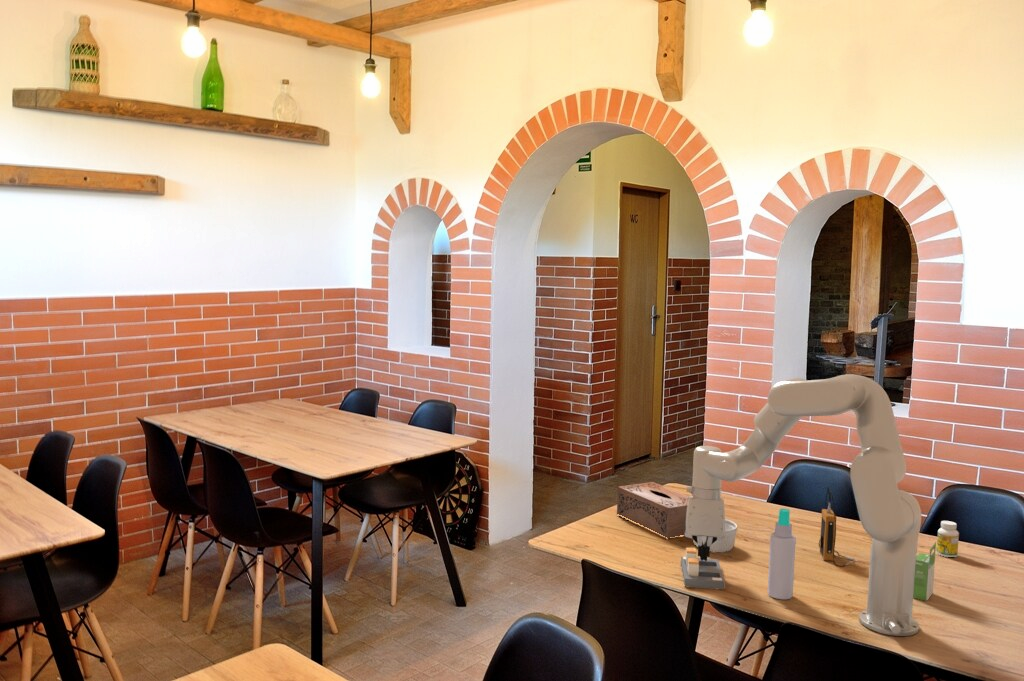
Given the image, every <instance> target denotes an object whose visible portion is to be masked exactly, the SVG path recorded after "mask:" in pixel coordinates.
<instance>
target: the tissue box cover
mask: <svg viewBox="0 0 1024 681" xmlns="http://www.w3.org/2000/svg"><path fill="white" fill-rule="evenodd" d="M689 496H690V495H687V494H685V493H682V492H681V491H677V490H675V489H672V488H669V487H667V486H664V485H662V484H659V483H656V482H655V481H649V482H642V483H636V484H629V485H621V486H620V485H619V486H617V500H616V503H617V504H616V515H617V514H619V515H622V516H624V517H626V518H628V519H630V520H632V521H634V522H636V523H639V524H640V525H643V526H644V527H647V528H649V529H651V530H653V531H655V532H657V533H659V534H661V535H663V536H665V537H667V538H670V537H675V536H680V535H684V532H685V529H686V512H687V505H688V500H689Z"/></svg>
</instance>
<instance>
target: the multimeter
mask: <svg viewBox="0 0 1024 681" xmlns="http://www.w3.org/2000/svg"><path fill="white" fill-rule="evenodd" d="M829 489H830V487H829V486H827V487H826V490H827V491H826V496H825V501H824V502H825V504H824V505H825V508H821V517H820V518H821V519H820V522H821V523H820V535H819V536H820V537H819V541H818V547H819V554H820V556H821V558H822V560H823V561H830V562H833V564H834V565H835V566H836V567H841V568H842V567H846V566H849V565H850V564H851V563H853V562H854V561H856V562H861V561H860V560H856V559H855V558H852V557H849V556H845V555H841V554H839V552H838V551H837V550H835V547H836V546H835V545H836V539H837V538H836V537H837V536H836V535H837V516H836V511H835V510H836V509H835V503H834V497H833V493H832V491H830V490H829ZM828 496H829V497H828ZM827 498H828V505H827ZM831 501H832V503H831ZM831 504H832V506H833V509H832V508H831V507H832V506H831ZM835 553H837V555H838V556H839V557H842V558H845V559H846V560H847V559H848V560H850V561H848V562H847V563H845V564H844V565H839V564H836V563H835Z"/></svg>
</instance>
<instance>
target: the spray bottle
mask: <svg viewBox="0 0 1024 681" xmlns="http://www.w3.org/2000/svg"><path fill="white" fill-rule="evenodd" d="M790 513H791V512H790V509H787V508H779V510H778V521H776V522H775V527H774V532H772V533H770V537H769V554H768V555H769V557H768V572H767V573H768V574H767V575H768V576H767V594H768V596H769V597H771V598H773V599H776V600H790V599H792V598H793V596H794V577H795V563H796V562H795V561H796V559H795V558H796V544H797V543H796V542H797V537H796V536H795V535H794V534H792V532H793V531H792V530H793V525H792V523H790Z"/></svg>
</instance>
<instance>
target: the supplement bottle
mask: <svg viewBox="0 0 1024 681" xmlns="http://www.w3.org/2000/svg"><path fill="white" fill-rule="evenodd" d="M957 527H958V525H957V523H956V522H954V521H949V520H941V521H940V528H939V529H938V530H937V541H936V554H937V555H938V554H939V556H940V555H941V556H940V557H943V556H944V558H948V557H955V558H957V557H958V554H959V539H960V538H959V537H960V532H959V531H958V530H957Z"/></svg>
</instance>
